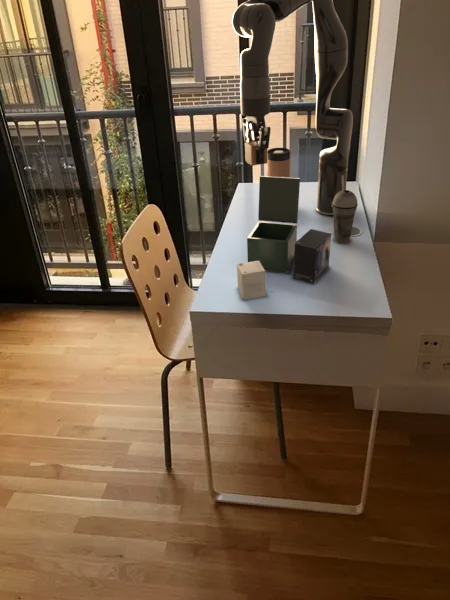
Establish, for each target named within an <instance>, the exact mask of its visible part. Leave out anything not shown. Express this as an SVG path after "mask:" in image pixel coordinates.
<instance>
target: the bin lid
mask: <svg viewBox="0 0 450 600" xmlns="http://www.w3.org/2000/svg"><path fill="white" fill-rule="evenodd" d="M300 184H301V178H300V177H290V178H285V177H267V176H265V175H260V176H259V185H258V186H259V189H258V191H259V192H258V219H257V220H258V222H271V223H283V224H294V225H298V220H299V219H298V217H299V205H300V203H299V201H300V186H301V185H300Z"/></svg>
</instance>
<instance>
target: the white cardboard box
mask: <svg viewBox="0 0 450 600" xmlns="http://www.w3.org/2000/svg"><path fill="white" fill-rule="evenodd" d="M236 275H237V290H238V292H239V294H240V296H241V298H242V300H251V299H257V298H264V297H266V296H267V288H266V285H267V283H266V271H265V270H264V268H263V266H262V265H261V263H260V261H253V262H248V261H247V262H241V263H237V264H236Z"/></svg>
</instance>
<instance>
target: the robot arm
mask: <svg viewBox="0 0 450 600" xmlns="http://www.w3.org/2000/svg"><path fill="white" fill-rule="evenodd" d="M311 2H312V13H313V25H314V26H313V27H314V64H315V75H316V76H315V80H316V83H315V85H316V96H315V97H316V99H315V102H316V103H315V122H314V123H315V133H316V135H317V137H318V138H320V139H325V140H334V141H336V144H335V145H334V146H331V147H327V148H324V149H322V150H321V151H320V152H319V157H318V177H317V198H316V200H317V201H316V212H317V213H319V214H320V215H324V216H325V215H326V216H334V212H333V205H332V203H333V199H334V197H335V195H336V194H337V193H338V192H340V191H342V176H344V190H347V181H348V167H349V157H350V151H351V141H352V134H353V125H354V116H353V112H352V111H351V110H350V109H347V108H334V107H331V97H332V93H333V91H334V89H335V87H336V86H337V84H338V82H339V81H340V79H341V77H342V76H343V74H344V73H345V70H346V68H347V66H348V62H349V61H348V59H349V52H348V51H349V41H348V36H347V33H346V30H345V28H344V25H343V23H342V22H341V20H340V17H339V16H338V13H337V12H336V9H335V6H334V1H333V0H246V1H245V2H243V3H241V4H240V5H239V6H238V7H237V8H236V9H235V10H234V12H233V14H232V20H231V25H232V28H233V30H234V32H235V33H236V34H237V35H238V36H240V37H242V38H251V43H250V47H249V48H246V49H244V50H242V51H241V53H240V58H239V63H240V66H239V67H240V81H239V93H240V96H239V97H240V114H241V115H242V116H244V118H241V125H242V133H243V141H244V143H245V142H251V141H254V142H255V148H256V164H258V165H257V166H260V165H265V164H264V150H265V149H267V150H269V149H270V148H269V147H270V138H271V126H267V125H266V119H265V117H266V116H267V115H269V114H270V113H271V82H270V53H271V49H272V45H273V41H274V37H275V32H276V24H277V23H279V22H281V21H283V20H285V19H286V18H288V17H289V16H291V15H292V14H294V13H295V12H297V11H298V10H300V9H301V8H302V7H304V6H306V5H307V4H309V3H311ZM258 141H259V143H258ZM259 164H260V165H259Z"/></svg>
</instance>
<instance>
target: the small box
mask: <svg viewBox="0 0 450 600" xmlns="http://www.w3.org/2000/svg"><path fill="white" fill-rule="evenodd" d="M331 243H332V233H331V232H327V231H323V230H317V229H313V228H310V229H309V230H308V231H307V232H306V233H305V234H303V235H302V236H300V237H299V239H297V242H296V243H294V260H293V271H292V272H293V274H292V279H293V280H298V281H301V282H305V283H309V284H315V283H316V282H317V280H319V279H320V278H321V276H322V275H324V273H325V272H326V271H327V270H328V269H329V267H330V255H331V254H330V253H331Z"/></svg>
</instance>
